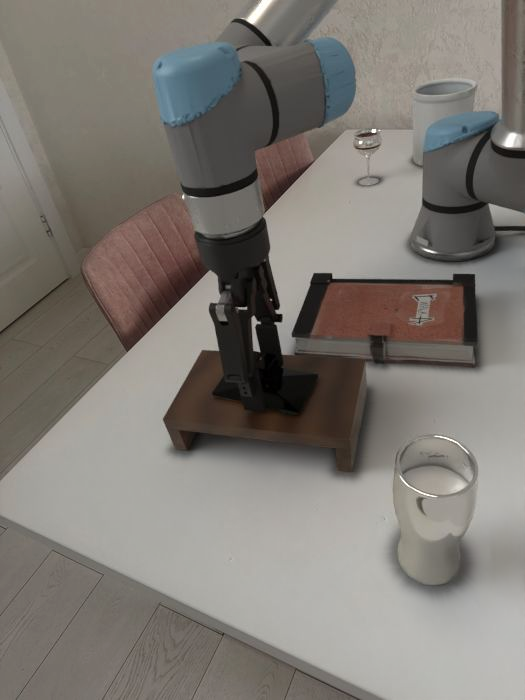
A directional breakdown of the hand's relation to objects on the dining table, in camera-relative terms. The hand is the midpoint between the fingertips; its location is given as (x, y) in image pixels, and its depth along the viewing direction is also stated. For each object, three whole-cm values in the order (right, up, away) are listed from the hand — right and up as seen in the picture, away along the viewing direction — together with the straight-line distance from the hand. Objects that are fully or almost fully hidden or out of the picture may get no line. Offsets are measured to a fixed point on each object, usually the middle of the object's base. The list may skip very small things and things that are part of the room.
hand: (264, 385), depth 65 cm
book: (+20, +8, +16) cm, 26 cm away
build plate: (0, 0, 0) cm, 1 cm away
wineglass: (+27, +48, +63) cm, 83 cm away
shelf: (+1, -5, +4) cm, 7 cm away
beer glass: (+17, -17, -14) cm, 27 cm away
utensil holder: (+47, +55, +67) cm, 98 cm away
